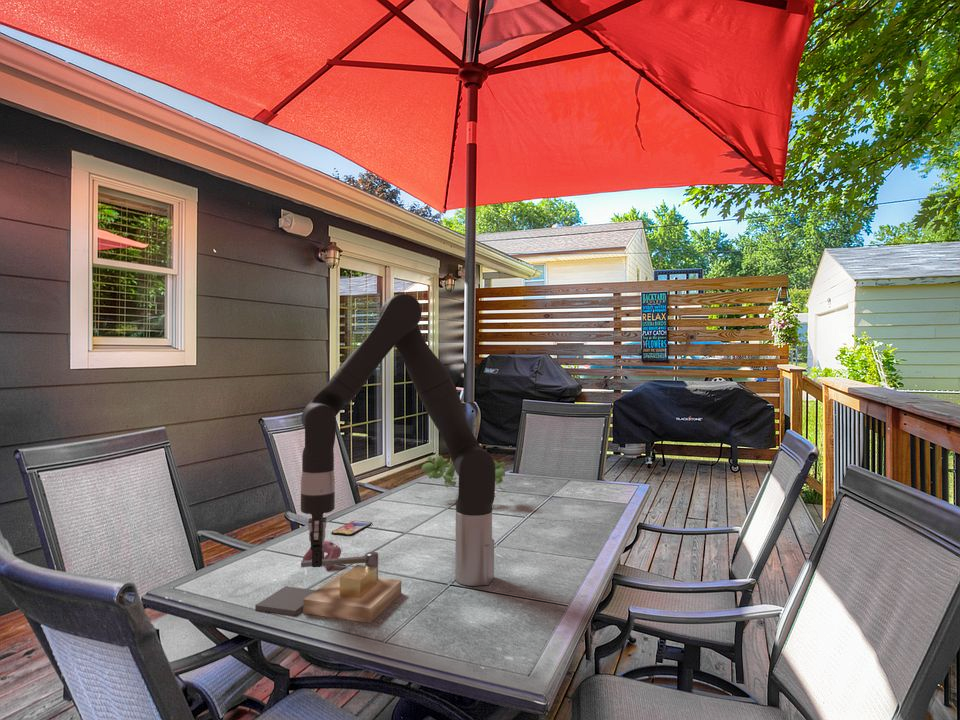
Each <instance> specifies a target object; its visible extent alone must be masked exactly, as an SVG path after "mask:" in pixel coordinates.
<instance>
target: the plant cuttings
mask: <svg viewBox="0 0 960 720" xmlns="http://www.w3.org/2000/svg"><path fill="white" fill-rule="evenodd" d="M493 460H494V463H495V485H498V486H499V488H500V490H502V491H505V489H504V488H502V487H501V486H500V483H502V482H504V479H503V477H504V476H506V471H505V469H504V468H502V467H505V468H506V466H507V465H506V462H505V461H501V462H498V461H496V460H495V459H493ZM426 461H430V462H426V463H423V465H421V470H422V471H423V472H424V473H426V474H425V475H426V476H428V478H429V479H440V478H442V477H443V479H444V487H445V488H447V489H448V488H449V487H450V488H451V489H453V488H452V487H456V484H457V481H456V480H457V477H456V475H455V473H456V471H455V468H454V465H453V462H452V459H451V457H450V459H449V462H448V458H444V457H443V455H438V456H436V457H435V458H434V459H433V458H432V456H427V459H426ZM444 474H445V475H444Z"/></svg>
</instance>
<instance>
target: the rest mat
mask: <svg viewBox="0 0 960 720" xmlns="http://www.w3.org/2000/svg"><path fill="white" fill-rule="evenodd" d="M316 590H317V589H310V588H303V587H302V588H301V587H294V586H286V585H284V587H282V588H280V589H279V590H276V591H275V592H274V593H273V594H270V595H269V596H268V597H266V598H264V599H263V600H261V601H260V602H258V603H257V604H255V607H254V609H255V611H256V610H257V611H262V612H268V613H275V614H280V615H282V614H283V615H289V616H297V615H298V614H299V613H301V612H303V599H305V598H306V597H307V596H309V595H310V594H312V593H313V592H315V591H316Z"/></svg>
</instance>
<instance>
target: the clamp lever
mask: <svg viewBox="0 0 960 720" xmlns="http://www.w3.org/2000/svg"><path fill="white" fill-rule="evenodd" d="M349 564H350V565H351V564H352V565H353V564H364V566H370V567H377V579H378V578H379V553H378V552H376V551H369V552H368V551H367V552H366V553H365V555H364V556H363V555H362V556H350V557H349V556H348V557H339V558H334V559H322V566H321V567H325V566H326V565H333V566H335V565H336V566H337V565H338V566H339V565H341V566H342V565H349ZM300 567H301V568H307V567H308V568H309V567H312V560H304V561H303V560H301V562H300ZM312 568H313V567H312Z"/></svg>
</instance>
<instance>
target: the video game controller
mask: <svg viewBox="0 0 960 720" xmlns="http://www.w3.org/2000/svg"><path fill="white" fill-rule="evenodd" d="M323 544H324V546H323V550H322V559H334V558H341V557H340V556H341V554H342V550H341V547H340V546H338V545H337V544H336V543H334V542H333V541H330V540H329V541H328V540H324V541H323ZM325 553H326V555H325ZM304 560H312V551H311V549H310V548H309V549H308V550H307V551H306V553H305V554H304V555H303V558H302V561H304ZM332 567H334V565H326V566H324V568H325V570H326V571H327V570H330V569H331V568H332Z"/></svg>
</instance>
